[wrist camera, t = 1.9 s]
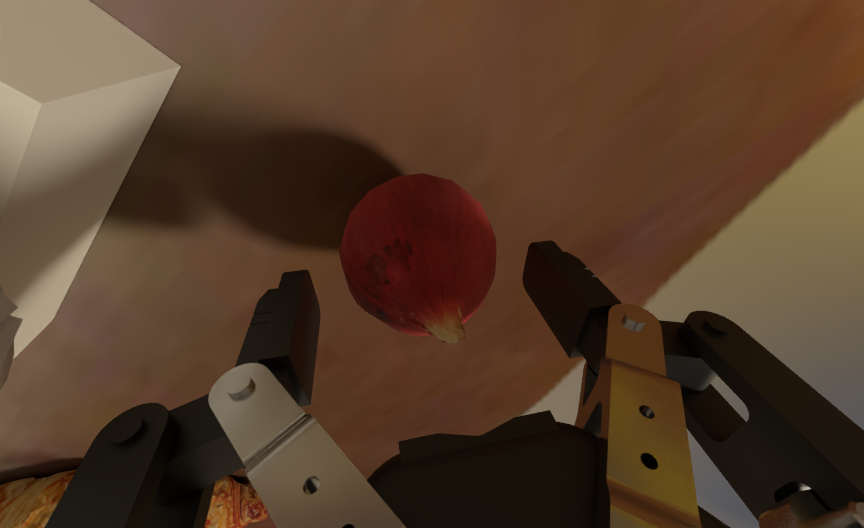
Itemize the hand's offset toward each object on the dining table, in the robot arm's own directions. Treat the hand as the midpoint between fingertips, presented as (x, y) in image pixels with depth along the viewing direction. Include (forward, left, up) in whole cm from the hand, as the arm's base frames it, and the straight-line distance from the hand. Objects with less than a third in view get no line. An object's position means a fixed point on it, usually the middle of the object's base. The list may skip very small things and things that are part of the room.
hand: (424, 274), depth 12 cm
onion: (0, 0, -5) cm, 5 cm away
